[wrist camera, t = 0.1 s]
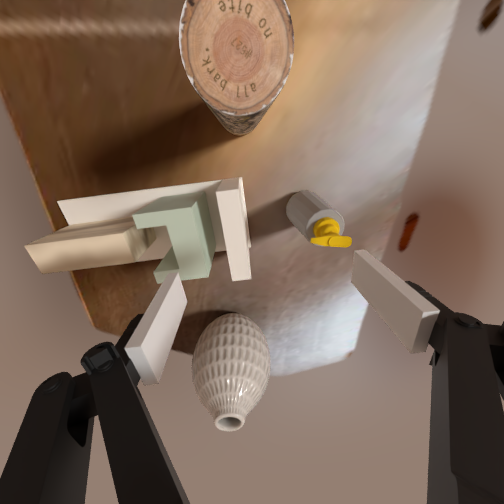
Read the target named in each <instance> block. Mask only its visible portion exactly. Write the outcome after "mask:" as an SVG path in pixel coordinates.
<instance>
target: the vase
mask: <svg viewBox="0 0 504 504" xmlns="http://www.w3.org/2000/svg"><path fill="white" fill-rule="evenodd" d="M269 375H270V352H269V347H268V344H267V341H266V338H265V336H264V334H263V332H262V331H261V329H260V328H259V327H258V325H257V324H256V323H255V322H253V321H252V320H251V319H250V318H248V317H246V316H245V315H242V314H238V313H228V314H224V315H222V316H220V317H218V318H216V319H215V320H214V321H212V322H211V323H210V324H209V325H208V326H207V327H206V328H205V330H204V331H203V333H202V334H201V335H200V337H199V340H198V342H197V344H196V346H195V350H194V354H193V359H192V379H193V384H194V388H195V391H196V394H197V396H198V398H199V400H200V401H201V403H202V404H203V406H204V407H205V408H206V409H207V411H208V412H209V413H210V414H211V415H212V417H213V418H214V425H215V426H216V427H217V428H218V429H220V430H222V431H235V430H238V429H240V428H241V427H242V426H243V425H244V422H245V418H246V416H247V415H248V414H249V413H250V412H251V411H252V409H253V408H254V407H255V406H256V405H257V404H258V402H259V401H260V399H261V397H262V396H263V394H264V391H265V389H266V387H267V384H268V380H269Z"/></svg>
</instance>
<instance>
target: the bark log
mask: <svg viewBox="0 0 504 504" xmlns="http://www.w3.org/2000/svg"><path fill="white" fill-rule="evenodd" d="M179 45H180V52H181V58H182V62H183V65H184V68H185V71H186V73H187V76H188V78H189V80H190V82H191V84H192V86H193V87H194V89H195V90H196V92H197V93H198V94H199V96H200V97H201V98H202V100H203V101H204V102H205V103H206V105H207V106H208V107H209V109H210V110H211V111H212V112H213V114H214V115H215V116H216V118H217V119H218V120H219V122H220V123H221V124H222V125H223V127H224V128H225V129H226V130H227V131H228V132H230V133H232V134H234V135H239V136H241V135H246V134H248V133H250V132H251V131H253V130H254V129H255V127H256V126H257V125H258V123H259V122H260V120H261V119H262V117H263V116H264V115H265V113H266V112H267V110H268V109H269V107H270V106H271V104H272V103H273V102H274V100H275V99H276V97H277V96H278V94H279V93H280V91H281V90H282V88H283V86H284V84H285V82H286V80H287V77H288V75H289V72H290V69H291V65H292V60H293V53H294V32H293V25H292V20H291V16H290V13H289V10H288V7H287V5H286V2H285V0H186V1H185V4H184V7H183V10H182V14H181V19H180V27H179Z"/></svg>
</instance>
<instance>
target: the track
mask: <svg viewBox="0 0 504 504" xmlns="http://www.w3.org/2000/svg"><path fill="white" fill-rule="evenodd" d="M202 191H205V193H206V198H207V203H208V208H209V213H210V217H211V222H212V227H213V232H214V237H215V241H216V249H215V252H218V251H226V250H227V255H228V260H229V265H230V271H231V276H232V281H238V280H246V279H251V271H250V258H249V248H250V247H251V243H250V236H249V228H248V220H247V213H246V205H245V197H244V190H243V182H242V177H238V178H230V179H222V180H215V181H207V182H199V183H191V184H184V185H176V186H168V187H161V188H153V189H145V190H137V191H130V192H122V193H114V194H106V195H99V196H91V197H83V198H75V199H68V200H60V201H57V203H58V205H59V207H60V209H61V211H62V212H63V214H64V216H65V218H66V220H67V222H68V224H69V225H71V224H79V223H87V222H95V221H103V220H110V219H118V218H126V217H133V216H132V215H133V214H134V213H136V212H137V211H139V210H141V209H142V208H144V207H146V206H147V205H149V204H151V203H152V202H154V201H156V200H157V199H159V198H161V197H164V196H171V195H179V194H187V193H195V192H202ZM153 228H154V231H155V234H156V237H157V239H156V240H155V241H154V242H153V244H152V245H151V246H150V247H149V248H148V249H147V250H146V251H145V252H144V253H143V254H142V255H141V256H140V257H139V259H138V260H137V261H136V262H139V261H147V260H155V259H163V258H164V257H165V255H166V254H167V252H168V251H169V250H170V248H171V247H172V243H171V240H170V236H169V233H168V230H167V227H166V225H165V226H157V227H153Z"/></svg>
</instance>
